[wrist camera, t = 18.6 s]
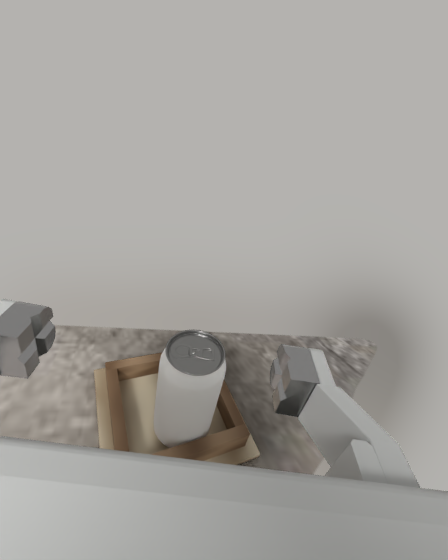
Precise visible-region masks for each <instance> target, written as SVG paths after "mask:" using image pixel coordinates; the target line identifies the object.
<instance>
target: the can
mask: <svg viewBox="0 0 448 560" xmlns="http://www.w3.org/2000/svg"><path fill="white" fill-rule="evenodd" d="M225 372H226V360H225V349H224V347H223V345H222V343H221V342H220V341H219V340H218V339H217V338H216V337H215V336H213V335H212V334H210V333H207V332H204V331H201V330H185V331H181V332H179V333H177V334H175V335H174V336H172V337H171V338H170V339H169V341H168V342H167V345H166V348H165V349H164V351H163V352H162V354H161V358H160V363H159V371H158V380H157V389H156V399H155V409H154V431H155V434H156V436H157V438H158V439H159V440H160V441H161V442H162V443H163V444H164V445H165V446H167V447H169V448H172V447H175V446H178V445H181V444H184V443H187V442H190V441H193V440H196V439H199V438H203V437H206V436H207V434H208V431H209V428H210V425H211V422H212V418H213V415H214V411H215V408H216V405H217V401H218V398H219V394H220V391H221V387H222V384H223V380H224V376H225Z"/></svg>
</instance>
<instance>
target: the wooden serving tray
mask: <svg viewBox="0 0 448 560" xmlns="http://www.w3.org/2000/svg"><path fill="white" fill-rule="evenodd" d="M161 354H162V353H157V354H151V355H145V356H140V357H134V358H128V359H123V360H117V361H111V362H106V363H105V368H102V369H97V370H94V377H95V390H96V404H97V417H98V431H99V444H100V448H102V449H110V450H118V451H126V452H134V453H142V454H151V455H159V456H167V457H175V458H183V459H191V460H199V461H207V462H215V463H223V464H232V465H239V464H241V463H244V462H246V461H249V460H251V459H254V458H257V457H259V455H260V452H259V450H258V448H257V446H256V444H255V442H254V440H253V438H252V436H251V434H250V432H249V430H248V428H247V426H246V424H245V422H244V419H243V417H242V415H241V413H240V411H239V409H238V407H237V405H236V403H235V401H234V399H233V397H232V395H231V393H230V391H229V389H228V386H227V384H226V382H225V380H223V384H222V387H221V391H220V394H219V398H218V401H217V405H216V408H215V411H214V415H213V418H212V422H211V425H210V428H209V431H208V434H207V436H206V437H203V438H199V439H196V440H193V441H190V442H187V443H184V444H181V445H178V446H175V447H172V448H169V447H167V446H165V445H164V444H163V443H162V442H161V441H160V440H159V439H158V438H157V436H156V434H155V431H154V409H155V399H156V389H157V380H158V371H159V363H160V358H161Z"/></svg>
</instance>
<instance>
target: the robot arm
mask: <svg viewBox="0 0 448 560" xmlns="http://www.w3.org/2000/svg"><path fill="white" fill-rule="evenodd" d="M52 317H53V313H52V309H51V308H49V307H46V306H41V305H35V304H30V303H24V302H17V301H12V300H6V299H2V300H0V375H1V376H10V377H19V378H29V376H30V375H31V374H32V372H33V371H34V370H35V368H36V367H37V366H38V364H39V363H40V361H39V356H41V355H43V354H45V353H47V352H48V351H49V349H50V348H51V346H52V344H53V342H54V339H55V332H56V331H55V326H54V325H53V324H52V323H51V321H50V319H51V318H52ZM277 355H278V358H276V359H274V360H273V363H272V366H271V371H270V383H271V386H272V388H273V389H274V390H275V391H274V393H273V396H272V398H273V405H274V412H275V413H277V414H283V415H289V416H295V417H298V419H299V421H300V422H301V424H302V425H303V427H304V428H305V430H306V431H307V433H308V434H309V436H310V437H311V438H312V440H313V441H314V443H315V444H316V446H317V447H318V449H319V450H320V452H321V453H322V455H323V456H324V458H325V459H326V460H327V462H328V464H329V465H330V466H331V468H330V469H329V471H328V472H327V473H326V475H325V476H319V475H312V474H304V473H296V472H288V471H280V470H272V469H264V468H256V467H248V466H240V465H232V464H223V463H215V462H207V461H199V460H191V459H183V458H175V457H167V456H159V455H151V454H142V453H134V452H126V451H118V450H110V449H102V448H94V447H86V446H78V445H70V444H62V443H53V442H45V441H37V440H29V439H21V438H13V437H5V436H0V560H448V491H441V490H433V489H425V488H420V486H419V484H418V482H417V480H416V478H415V476H414V474H413V472H412V470H411V468H410V465H409V463H408V461H407V459H406V457H405V455H404V453H403V451H402V449H401V447H400V445H399V444H398V443H397V442H396V441H395V440H394V439H393V438H392V437H391V436H390V435H389V434H388V433H387V432H386V431H385V430H384V429H383V428H382V427H381V426H380V425H379V424H378V423H377V422H375V421H374V420H373V419H372V418H371V417H370V416H369V415H368V414H367V413H366V412H365V411H364V410H363V409H362V408H361V407H360V406H359V405H358V404H357V403H356V402H355V401H354V400H353V399H352V398H351V397H350V396H349V395H348V394H347V393H345V392H344V391H343V390H342V389H341V388H340V387H336V385H335V382H334V380H333V377H332V374H331V372H330V369H329V366H328V364H327V361H326V358H325V356H324V353H323V351H322V350H318V349H312V348H304V347H297V346H290V345H284V344H281V345H280V346H279V348H278V350H277Z"/></svg>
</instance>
